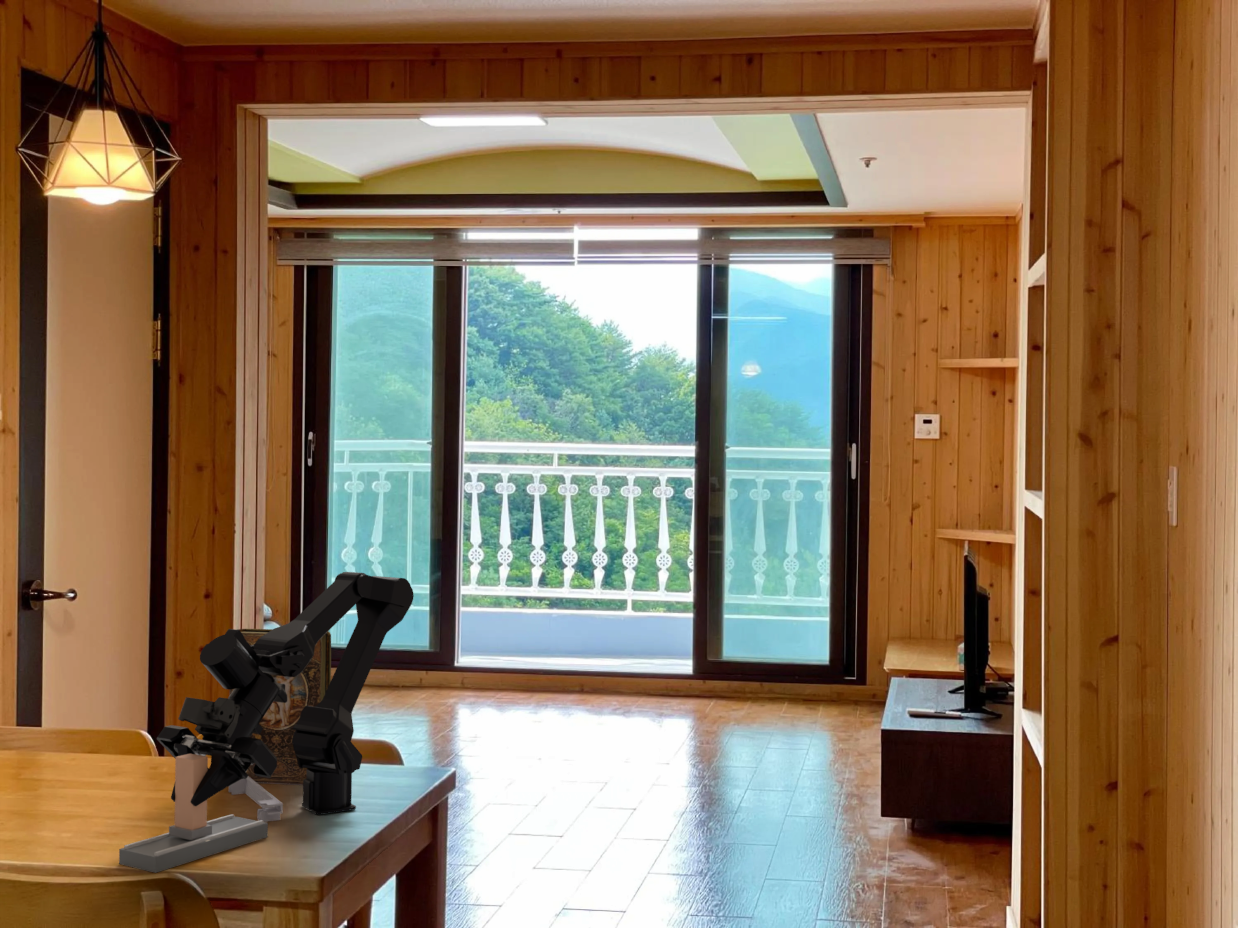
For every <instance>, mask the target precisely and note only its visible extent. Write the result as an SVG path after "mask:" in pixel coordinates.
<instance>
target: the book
mask: <svg viewBox="0 0 1238 928" xmlns="http://www.w3.org/2000/svg"><path fill="white" fill-rule="evenodd" d="M273 629H274V628H272V629H268V628H239V629H236V630H240V632H241V633H242V634H243V636H244V638H245V640H246V641H247V642H248V643H249V645H250V646H251V645H254V644H255V643H256V641H257V640H258V639H259V638H260V637H262V636H263V635H265V634H266V633H268V632H270V631H271V630H273ZM271 676H272V677H273V678H274V679H275V680H276V682H277V683H281V684H285V691H286V693H287V699H288V701H287V702H286V703H282V702H274V701H273V703H272V704H271V706H270V707H269V709H268V710H267V712H266V714H265V715H264V717H263V718H262V720H261V721H260V723H259V725H260V726H261V727H262V728H263V730H262V731H261V733H260V734H252V735H251V737H250V738H255V739H261V740H262V741H263V742H264V744H265V745H266V746H267V747H268V748H269V749H270V750H271V752H272V753H273V754H274V755H275V756H276V757H277V768H276V769H275V771H274V772H273V774H272V776H271V777H270V778H266V777H260V776H256V775H255V774H254V769H253V768H254V766H255V764H256V763H254V764H253V765H250V767H249V768H248V770H247V771H246V773H247V774H248V776H249V777H250V778H251V779H253V780H254V781H255V782H256V783H258V784H270V785H272V784H274V785H293V786H294V785H295V786H296V785H297V786H298V785H299V786H300V785H302V786H303V780H304V779H306V769H308V768H299V766H298V762H297V758H296V755H295V751H294V747H293V744H292V738H293V735H294V732H295V730H293V727H294V726H295V725H296V724H297V722H298V720H299V718H300V715H301V712H302V710H303V708H304V707H305V706H312V707H315V706H316V705H318V704H319V703H320V702H321V701H322V699H323V697H324V695H325V693H326V691H327V688H328V686H329V684H330V682H331V680H332V634H331V632H330V630H329V631H328V632H327V633H326V634H325V635H324V636H323V637H322V638H321V639H320V640H319V641H318V642H317V644H316V645H315V650H314V656H313V657H312V659H311V660H310V662H309V663H308V664H307V666H306V667H305V668H304V670H303V671H302V672H301V673H300V674H299V675H298V676H296V677H285V676H277V675H271ZM233 690H234V689H229V695H230V694H231V693H232V691H233Z"/></svg>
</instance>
